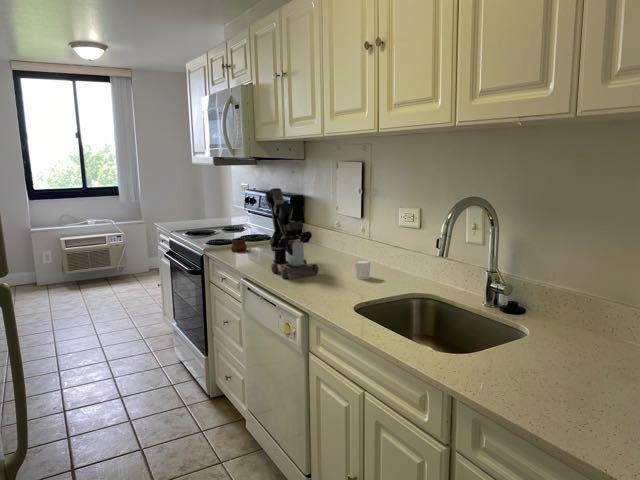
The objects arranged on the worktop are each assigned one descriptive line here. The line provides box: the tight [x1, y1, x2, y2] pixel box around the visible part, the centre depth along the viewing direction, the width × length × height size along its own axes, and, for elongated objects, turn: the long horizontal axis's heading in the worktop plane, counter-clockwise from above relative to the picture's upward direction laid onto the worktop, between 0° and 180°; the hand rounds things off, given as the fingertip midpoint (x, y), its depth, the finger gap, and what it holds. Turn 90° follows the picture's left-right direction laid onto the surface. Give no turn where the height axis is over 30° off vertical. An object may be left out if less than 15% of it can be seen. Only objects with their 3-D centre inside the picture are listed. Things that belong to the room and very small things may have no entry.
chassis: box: [270, 258, 319, 280], centre depth 210 cm, size 16×16×4 cm
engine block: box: [287, 239, 305, 268], centre depth 207 cm, size 5×5×13 cm
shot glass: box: [354, 259, 371, 280], centre depth 201 cm, size 7×7×7 cm
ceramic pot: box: [230, 237, 247, 253], centre depth 262 cm, size 18×18×7 cm
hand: (297, 254), depth 206 cm, fingers closed on engine block, 5 cm apart
